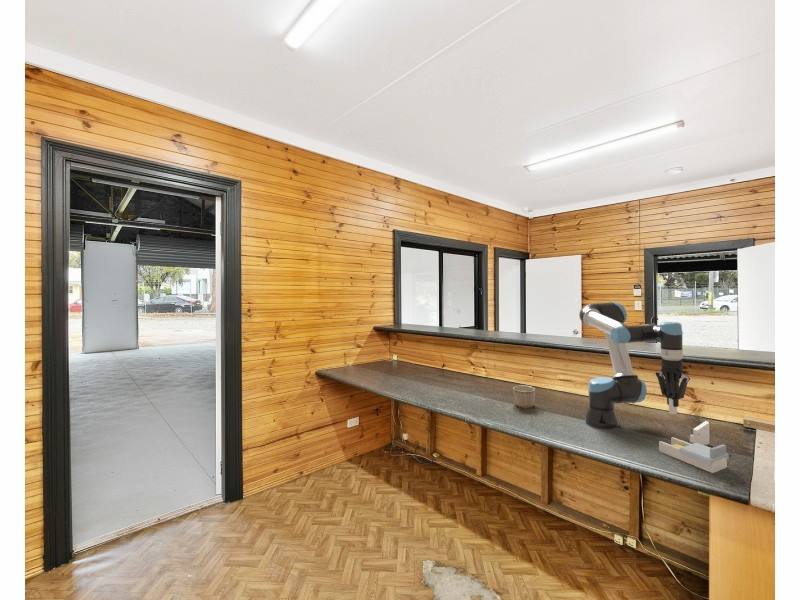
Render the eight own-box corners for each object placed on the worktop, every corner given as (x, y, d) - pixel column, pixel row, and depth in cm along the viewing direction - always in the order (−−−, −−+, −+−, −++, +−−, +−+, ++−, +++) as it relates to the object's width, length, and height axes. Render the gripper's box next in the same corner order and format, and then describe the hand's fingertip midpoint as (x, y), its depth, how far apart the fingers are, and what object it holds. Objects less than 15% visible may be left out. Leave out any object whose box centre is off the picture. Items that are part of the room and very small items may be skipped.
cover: (679, 453, 151) (679, 439, 150) (697, 447, 155) (697, 433, 154) (710, 465, 140) (710, 450, 140) (728, 458, 145) (728, 444, 144)
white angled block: (718, 438, 163) (709, 422, 163) (699, 450, 163) (690, 434, 163) (711, 434, 167) (702, 419, 166) (693, 446, 167) (683, 431, 166)
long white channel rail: (659, 451, 160) (659, 441, 159) (672, 446, 163) (672, 437, 163) (712, 473, 141) (712, 462, 141) (726, 467, 144) (726, 456, 144)
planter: (513, 408, 218) (512, 391, 217) (513, 401, 230) (513, 384, 229) (535, 409, 214) (535, 392, 213) (535, 402, 226) (534, 385, 225)
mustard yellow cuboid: (671, 453, 158) (671, 445, 157) (676, 451, 159) (676, 443, 159) (684, 458, 153) (684, 450, 153) (689, 456, 154) (689, 448, 154)
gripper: (650, 357, 161) (651, 410, 162) (682, 362, 149) (683, 419, 150) (662, 355, 164) (663, 407, 164) (694, 360, 151) (695, 416, 152)
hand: (673, 413), depth 157 cm, fingers closed
